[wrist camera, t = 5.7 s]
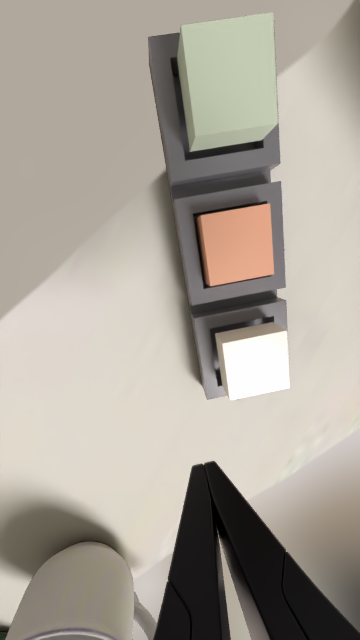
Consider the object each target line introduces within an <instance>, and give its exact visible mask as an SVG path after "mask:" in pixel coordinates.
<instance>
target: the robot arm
mask: <svg viewBox="0 0 360 640" xmlns="http://www.w3.org/2000/svg"><path fill="white" fill-rule="evenodd" d="M217 531H218V532H217ZM218 535H219V537H218ZM219 539H220V542H221V545H222V549H223V552H224V554H225V558H226V561H227V564H228V567H229V570H230V573H231V577H232V580H233V583H234V586H235V589H236V592H237V595H238V599H239V602H240V605H241V608H242V611H243V614H244V617H245V620H246V624H247V627H248V630H249V633H250V636H251V639H252V640H360V632H358V630H357V629H356V628H355V627H354V626H353V625H352V624H351V623H350V622H349V621H348V620H347V619H346V618H345V617H344V616H343V615H342V614H341V613H340V611H339V610H338V609H337V608H335V606H334V605H333V604H332V603H331V602H330V601H329V600H328V599H327V598H326V596H325V595H324V594H323V593H322V592H321V591H320V590H319V589H318V588H317V587H316V585H315V584H314V583H313V582H312V581H311V580H310V578H309V577H308V576H307V575H306V574H305V572H304V571H303V570H302V569H301V568H300V566H299V565H298V564H297V563H296V562H295V560H294V559H293V558H292V557H291V555H290V554H289V553H288V552H286V549H285V548H284V547H283V545H282V544H281V543H280V542H279V540H278V539H277V538H276V537H275V535H274V534H273V533H272V532H271V530H270V529H269V528H268V527H267V526H266V524H265V523H264V522H263V521H262V519H261V518H260V517H259V516H258V514H257V513H256V512H255V511H254V509H253V508H252V507H251V506H250V504H249V503H248V502H247V501H246V499H245V498H244V497H243V496H242V494H241V493H240V492H239V491H238V489H237V488H236V487H235V486H234V484H233V483H232V482H231V481H230V479H229V478H228V477H227V476H226V474H225V473H224V472H223V471H222V469H221V468H220V467H219V466H218V464H217V463H216V462H215V461H211V462H206V463H204V465H203V464H197V465H194V466H192V469H191V473H190V478H189V483H188V487H187V492H186V497H185V501H184V506H183V510H182V515H181V520H180V524H179V529H178V533H177V538H176V543H175V547H174V552H173V557H172V561H171V566H170V571H169V576H168V582H167V584H166V588H165V593H164V597H163V603H162V606H161V610H160V614H159V619H158V622H157V627H156V630H155V634H154V637H153V640H231V637H230V629H229V620H228V612H227V603H226V595H225V587H224V579H223V569H222V561H221V553H220V544H219Z"/></svg>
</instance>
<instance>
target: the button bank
mask: <svg viewBox="0 0 360 640" xmlns="http://www.w3.org/2000/svg"><path fill="white" fill-rule="evenodd" d="M179 37H180V33H173V34H167V35H159V36H152V37H148V42H149V66H150V73H151V79H152V85H153V91H154V97H155V102H156V109H157V115H158V121H159V127H160V133H161V139H162V144H163V151H164V156H165V163H166V169H167V175H168V181H169V187H170V193H171V199H172V205H173V211H174V217H175V223H176V229H177V235H178V241H179V247H180V253H181V259H182V265H183V271H184V277H185V283H186V289H187V296H188V302H189V308H190V314H191V320H192V326H193V332H194V338H195V344H196V350H197V356H198V362H199V368H200V374H201V380H202V386H203V389H204V392H205V395H206V398H207V400H209V399H213V398H218V397H223V396H227V394H226V392H225V390H224V388H223V386H222V380H221V373H220V366H219V359H218V351H217V344H216V337H215V333H220V332H225V331H230V330H235V329H240V328H245V327H250V326H255V325H260V324H265V323H270V322H274V323H275V324H277V325H279V326H280V327H282V328H284V329H285V330H287V307H286V300H283V299H281V298H278V297H277V289H280V288H285V287H286V284H285V262H284V239H283V216H282V193H281V181H279V182H273V183H271V178H270V170H272V169H273V168H275V167H276V166H278V165H279V164H280V147H279V124H277V125H276V126H275V127H274V128H273V129H272V130H271V131H270V132H269V133H268V134H267V135H266V136H265V137H264V138H263V139H262V140H260V141H254V142H248V143H241V144H235V145H229V146H223V147H217V148H211V149H204V150H198V151H192V152H190V148H189V141H188V134H187V127H186V119H185V112H184V105H183V98H182V90H181V83H180V76H179V69H178V61H177V55H178V46H179ZM274 42H275V32H274ZM275 56H276V55H275ZM275 64H276V57H275ZM276 87H277V78H276ZM277 110H278V101H277ZM269 203H270V209H271V227H272V244H273V262H274V274H273V275H267V276H262V277H257V278H252V279H246V280H241V281H236V282H231V283H225V284H220V285H215V286H209V285H208V284H206V283H204V276H203V269H202V262H201V255H200V248H199V241H198V234H197V227H196V220H195V219H197V218H198V217H199V216H201V215H206V214H212V213H218V212H223V211H229V210H235V209H240V208H246V207H252V206H257V205H263V204H269ZM287 339H288V330H287ZM288 362H289V353H288ZM289 382H290V376H289Z"/></svg>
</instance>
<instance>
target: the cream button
mask: <svg viewBox="0 0 360 640" xmlns="http://www.w3.org/2000/svg"><path fill="white" fill-rule="evenodd" d="M215 337H216V344H217V351H218V359H219V366H220V373H221V380H222V386H223V388H224V390H225V392H226V394H227V396H228V398H229V400H235V399H240V398H244V397H249V396H254V395H258V394H263V393H268V392H272V391H277V390H282V389H286V388H290V385H289V362H288V339H287V330H285V329H284V328H282V327H280V326H279V325H277V324H275V323H274V322H270V323H265V324H260V325H255V326H250V327H245V328H240V329H235V330H230V331H225V332H220V333H215Z"/></svg>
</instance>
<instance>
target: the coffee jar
mask: <svg viewBox="0 0 360 640" xmlns="http://www.w3.org/2000/svg"><path fill="white" fill-rule="evenodd" d="M7 634H8V633H3V632H0V640H5V639H6V636H7Z"/></svg>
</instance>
